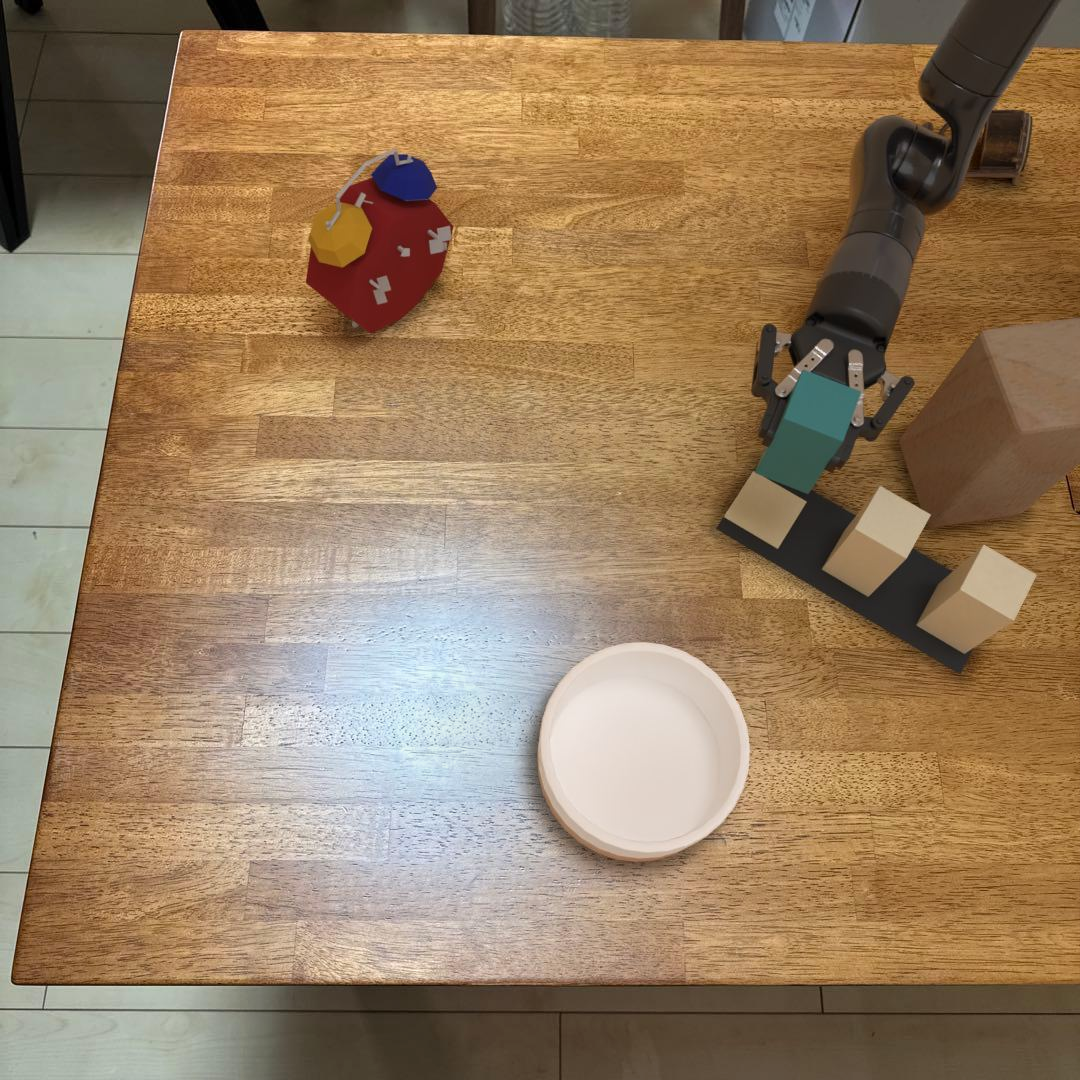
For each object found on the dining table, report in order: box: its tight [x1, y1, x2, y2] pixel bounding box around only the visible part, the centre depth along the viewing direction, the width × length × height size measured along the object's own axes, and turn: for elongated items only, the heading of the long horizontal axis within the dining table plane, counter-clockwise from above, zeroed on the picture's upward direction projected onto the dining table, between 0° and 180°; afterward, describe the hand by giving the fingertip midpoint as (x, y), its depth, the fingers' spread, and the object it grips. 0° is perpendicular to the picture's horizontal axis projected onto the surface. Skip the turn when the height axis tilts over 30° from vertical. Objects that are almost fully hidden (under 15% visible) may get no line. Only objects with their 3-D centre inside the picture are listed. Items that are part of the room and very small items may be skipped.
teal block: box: [755, 370, 861, 494], centre depth 86 cm, size 5×5×10 cm
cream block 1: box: [822, 485, 931, 597], centre depth 93 cm, size 5×5×10 cm
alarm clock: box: [305, 147, 454, 335], centre depth 99 cm, size 15×9×20 cm, turn 139°
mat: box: [715, 462, 975, 675], centre depth 98 cm, size 26×9×1 cm, turn 57°
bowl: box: [536, 641, 751, 863], centre depth 86 cm, size 17×17×8 cm
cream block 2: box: [916, 544, 1037, 654], centre depth 91 cm, size 5×5×10 cm
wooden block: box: [898, 317, 1080, 528], centre depth 93 cm, size 10×10×20 cm
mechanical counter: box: [921, 109, 1034, 186], centre depth 115 cm, size 7×13×10 cm
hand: (799, 453), depth 84 cm, fingers closed on teal block, 5 cm apart
